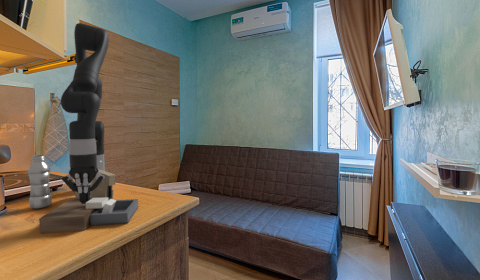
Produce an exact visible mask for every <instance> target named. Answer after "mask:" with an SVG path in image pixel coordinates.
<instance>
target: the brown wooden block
mask: <svg viewBox="0 0 480 280" xmlns="http://www.w3.org/2000/svg"><path fill="white" fill-rule="evenodd" d="M96 198H106V197H96ZM91 199H92V198H91ZM97 209H98V208H93V209H86V204H81V202H80V200H79V198H76V197H75V198H70V199H68V200H67V201H65V202H64V203H62V204H61V205H59V206H57V207H55V208H54V209H52V210H51V211H49V212H48V213H46V214H44V215H43V216H41V217H39V220H38V221H39V233H40V234H49V233H51V234H52V233H63V232H64V233H65V232H77V231H78V232H79V231H86V230H87V229H88V228H89V227H90V226H91V219H90V215H91V214H92V213H93V212H94V211H96V210H97Z"/></svg>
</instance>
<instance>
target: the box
mask: <svg viewBox="0 0 480 280" xmlns="http://www.w3.org/2000/svg"><path fill="white" fill-rule="evenodd" d="M115 200H116V203H115V205H114V208H113V210H112V213H102V211H103V208H104V207H103V208H98V209H97V210H96V211H94V212H93V213H92V214H91V215H90V219H91V225H90V226H91V227H93V226H95V227H96V226H105V225H106V226H109V225H124V224H129V222H130V221H131V219H132V218H133V217H134V215H135V213H136V212H137V211H138V209H139V198H133V199H132V198H129V199H115ZM108 201H109V200H108Z"/></svg>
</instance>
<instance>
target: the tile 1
mask: <svg viewBox="0 0 480 280" xmlns="http://www.w3.org/2000/svg"><path fill="white" fill-rule="evenodd" d="M107 202H108V197H106V198H92V199H91V200H89V201H88V202H86V209H93V208H103V207H104V206H105V203H107Z"/></svg>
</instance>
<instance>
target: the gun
mask: <svg viewBox="0 0 480 280" xmlns="http://www.w3.org/2000/svg"><path fill="white" fill-rule="evenodd" d="M98 171H99V173H100V174H102V175H105V176H106V177H105V178H104V179H103V181H102V182H101V183H100V184H99V186H98V187H97V188H96V189H94V190H93V191H91V192H90V194H91V198H96V197H108V200H110V199H113V200H114V189H113V186H115V185H116V174H115V173H112V172H109V171H106V170H105V171H103V170H100V169H98ZM95 181H96V176H95V178H94V179H93V180H92V184H91V186H92V185H93V184H94V183H95ZM74 182H75V183H76V181H75V180H74ZM74 196H75V198H79V192H76V191H75V192H74Z"/></svg>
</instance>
